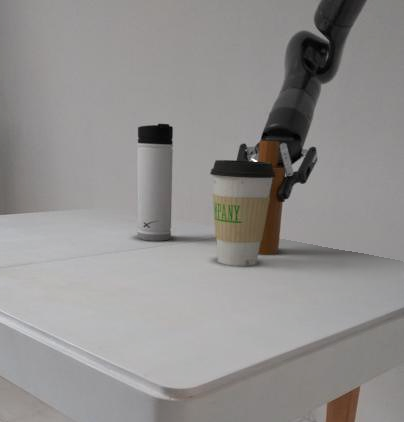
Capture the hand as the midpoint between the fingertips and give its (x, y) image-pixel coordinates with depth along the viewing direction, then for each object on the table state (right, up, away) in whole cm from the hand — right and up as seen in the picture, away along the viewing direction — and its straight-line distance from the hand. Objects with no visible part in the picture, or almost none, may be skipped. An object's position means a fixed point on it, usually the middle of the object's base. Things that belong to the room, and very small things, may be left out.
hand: (261, 196), depth 94 cm
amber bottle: (0, -8, +5) cm, 9 cm away
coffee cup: (-4, -12, -4) cm, 13 cm away
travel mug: (-19, -4, +12) cm, 23 cm away
